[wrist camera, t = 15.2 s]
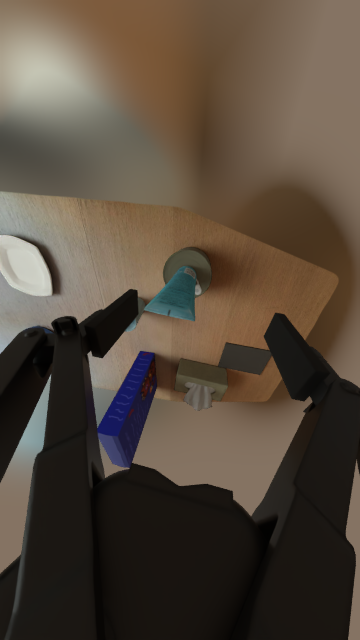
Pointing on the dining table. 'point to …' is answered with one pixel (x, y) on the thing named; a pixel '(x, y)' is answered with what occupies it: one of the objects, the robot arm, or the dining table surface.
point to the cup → (140, 308)
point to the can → (195, 261)
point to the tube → (177, 296)
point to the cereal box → (129, 411)
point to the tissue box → (200, 383)
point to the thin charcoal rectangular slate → (244, 358)
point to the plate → (24, 266)
